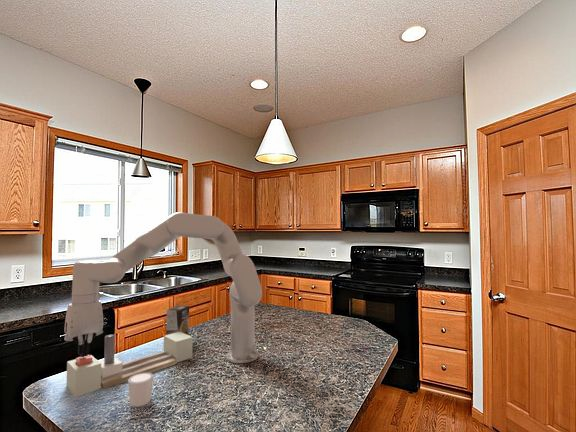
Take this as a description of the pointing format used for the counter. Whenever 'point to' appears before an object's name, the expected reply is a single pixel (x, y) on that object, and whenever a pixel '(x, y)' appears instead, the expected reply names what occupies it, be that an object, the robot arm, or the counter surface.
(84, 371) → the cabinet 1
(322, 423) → the counter surface
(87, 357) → the red block
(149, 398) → the pale pink cylinder cup
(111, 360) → the carriage
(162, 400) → the counter surface
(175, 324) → the coffee box
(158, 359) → the rail track
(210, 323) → the counter surface
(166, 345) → the cabinet
